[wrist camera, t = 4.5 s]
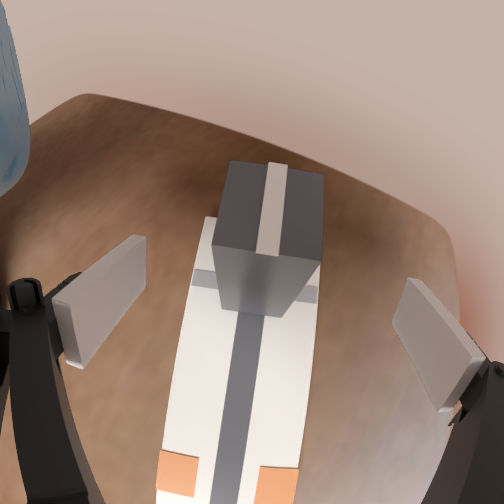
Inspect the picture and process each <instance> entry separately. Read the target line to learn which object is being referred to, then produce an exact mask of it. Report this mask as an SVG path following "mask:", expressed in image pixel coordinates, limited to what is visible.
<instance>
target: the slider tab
mask: <svg viewBox="0 0 504 504" xmlns="http://www.w3.org/2000/svg"><path fill="white" fill-rule="evenodd" d="M287 167H288V165H285V164H279V163H272V162H269V163H268V165H264V164H257V163H250V162H243V161H235V160H230V164H229V168H228V172H227V176H226V181H225V185H224V189H223V194H222V198H221V202H220V207H219V211H218V216H217V220H216V225H215V229H214V234H213V239H212V243H211V247H212V253H213V260H214V266H215V272H216V278H217V284H218V290H219V296H220V302H221V308H222V309H224V310H230V311H237V312H243V313H250V314H257V315H264V316H271V317H279V318H282V317H283V315H284V314H285V312H286V311H287V310H288V308H289V307H290V306H291V304H292V303H293V301H294V300H295V299H296V297H297V296H298V295H299V293H300V292H301V290H302V289H303V288H304V286H305V285H306V283H307V282H308V280H309V279H310V278H311V276H312V275H313V273H314V272H315V270H316V269H317V268H318V266H319V265H320V263H321V262H322V248H323V217H324V174H319V173H313V172H308V171H302V170H296V169H290V168H287Z"/></svg>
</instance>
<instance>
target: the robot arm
mask: <svg viewBox="0 0 504 504" xmlns="http://www.w3.org/2000/svg"><path fill="white" fill-rule="evenodd" d="M29 154H30V127H29V119H28V112H27V106H26V100H25V94H24V89H23V84H22V79H21V74H20V69H19V64H18V60H17V55H16V50H15V46H14V42H13V38H12V34H11V30H10V27H9V26H8V24H7V19H6V14H5V10H4V7H3V5H2V3H1V1H0V197H1V196H2V195H4V194H5V193H6V192H7V191H8V190H10V189H11V188H12V187H13V186H14V185H15V184H16V183H17V182H18V181H19V180H20V178H21V177H22V175H23V173H24V171H25V169H26V167H27V164H28V160H29ZM145 288H146V237H145V236H139V235H133V234H132V235H131V236H130V237H128V238H127V239H126V240H124V241H123V242H121V243H120V244H119V245H117V246H116V247H115V248H114V249H112V250H111V251H110V252H108V253H107V254H106V255H104V256H103V257H102V258H101V259H99V260H98V261H97V262H95V263H94V264H93V265H92V266H90V267H89V268H88V269H87V270H85V271H84V272H83V273H82V272H78V273H76V274H73V275H71V276H69V277H68V278H67V279H65V280H64V281H63V282H62V283H60V284H59V285H58V286H57V288H54V289H53V290H52V291H50V292H49V293H48V294H47V295H46V296H44V297H43V293H42V287H41V283H40V281H38V280H37V279H34V278H22V279H18V280H16V281H13V282H12V283H10V284H9V285H8V287H7V289H6V291H7V295H8V300H9V304H10V308H11V310H5V309H1V298H0V434H1V427H2V421H3V415H4V410H5V404H6V400H7V395H8V390H9V386H10V399H11V411H12V421H13V429H14V436H15V443H16V449H17V455H18V460H19V465H20V470H21V475H22V479H23V483H24V487H25V491H26V495H27V504H106V503H105V501H104V499H103V497H102V495H101V493H100V490H99V488H98V486H97V484H96V481H95V479H94V476H93V474H92V471H91V469H90V466H89V464H88V461H87V458H86V456H85V453H84V450H83V447H82V445H81V442H80V439H79V436H78V432H77V429H76V426H75V423H74V419H73V416H72V412H71V409H70V405H69V401H68V398H67V394H66V389H65V385H64V381H63V376H62V372H61V367H60V363H59V359H58V357H59V356H60V355H61V354H62V352H63V351H64V355H65V359H66V362H67V364H69V365H72V366H75V367H77V368H80V369H83V370H84V369H85V367H86V366H87V365H88V363H89V362H90V360H91V359H92V358H93V356H94V355H95V353H96V352H97V351H98V349H99V348H100V347H101V345H102V344H103V343H104V341H105V340H106V339H107V337H108V336H109V334H110V333H111V332H112V330H113V329H114V328H115V327H116V325H117V324H118V323H119V321H120V320H121V319H122V317H123V316H124V315H125V313H126V312H127V311H128V310H129V308H130V307H131V306H132V304H133V303H134V302H135V301H136V299H137V298H138V297H139V295H140V294H141V293H142V292H143V290H144V289H145ZM391 324H392V326H393V327H394V329H395V331H396V333H397V335H398V336H399V338H400V340H401V342H402V344H403V345H404V347H405V349H406V351H407V353H408V355H409V357H410V359H411V360H412V362H413V364H414V366H415V368H416V370H417V372H418V374H419V376H420V378H421V380H422V382H423V384H424V386H425V388H426V390H427V392H428V394H429V396H430V398H431V400H432V402H433V404H434V406H435V408H436V410H437V413H438V412H446V411H452V409H453V408H454V406H455V405H456V404H457V402H458V400H460V402H461V404H462V407H461V409H460V410H459V411H458V413H457V414H456V415H455V417H454V418H453V419H452V420H451V422H450V423H449V425H448V426H451V425H452V423H454V426H453V429H452V432H451V435H450V438H449V440H448V443H447V446H446V449H445V451H444V454H443V456H442V459H441V461H440V464H439V466H438V469H437V471H436V473H435V476H434V478H433V480H432V482H431V484H430V487H429V489H428V491H427V493H426V495H425V497H424V499H423V501H422V503H421V504H504V364H503V363H500V362H497V361H493V362H490V361H489V359H488V358H487V356H486V355H485V354H484V353H483V352H482V350H481V349H480V348H479V346H477V344H476V342H475V341H473V339H472V338H471V336H470V335H469V334H468V333H467V332H466V331H465V330H464V329H463V328H462V327H461V325H460V324H459V323H458V322H457V321H456V319H455V318H454V317H453V316H452V315H451V313H450V312H449V311H448V310H447V309H446V308H445V307H444V305H443V304H442V303H441V302H440V301H439V300H438V299H437V297H436V296H435V295H434V294H433V293H432V292H431V291H430V290H429V289H428V288H427V286H426V285H425V284H424V283H423V282H422V281H421V280H420V279H415V278H409V277H408V279H407V282H406V284H405V287H404V290H403V293H402V296H401V298H400V301H399V304H398V306H397V309H396V312H395V314H394V317H393V319H392V322H391Z"/></svg>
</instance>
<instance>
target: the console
mask: <svg viewBox="0 0 504 504" xmlns="http://www.w3.org/2000/svg"><path fill="white" fill-rule="evenodd" d="M216 220H217V218H214V217H207V216H206V217H205V221H204V225H203V230H202V234H201V238H200V242H199V247H198V251H197V256H196V260H195V265H194V269H193V274H192V279H191V283H190V288H189V293H188V298H187V303H186V308H185V313H184V318H183V323H182V328H181V333H180V339H179V344H178V349H177V355H176V361H175V366H174V372H173V378H172V384H171V390H170V397H169V403H168V410H167V417H166V423H165V430H164V438H163V445H162V450H160V455H159V463H158V471H157V481H156V489H157V497H156V504H293V499H294V494H295V489H296V483H297V478H298V473H299V469H297V468H298V462H299V456H300V450H301V444H302V438H303V431H304V425H305V418H306V411H307V403H308V395H309V387H310V379H311V370H312V361H313V352H314V341H315V330H316V319H317V306H318V292H319V276H320V265H319V266H318V268H317V269H316V270H315V272H314V273H313V275H312V276H311V278H310V279H309V280H308V282H307V283H306V285H305V286H304V288H303V289H302V290H301V292H300V293H299V295H298V296H297V297H296V299H295V300H294V301H293V303H292V304H291V306H290V307H289V308H288V310H287V311H286V312H285V314H284V315H283V317H282V318H279V317H271V316H264V315H257V314H250V313H243V312H237V311H230V310H224V309H222V308H221V302H220V296H219V290H218V284H217V278H216V272H215V266H214V260H213V253H212V247H211V243H212V239H213V234H214V229H215V225H216Z"/></svg>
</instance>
